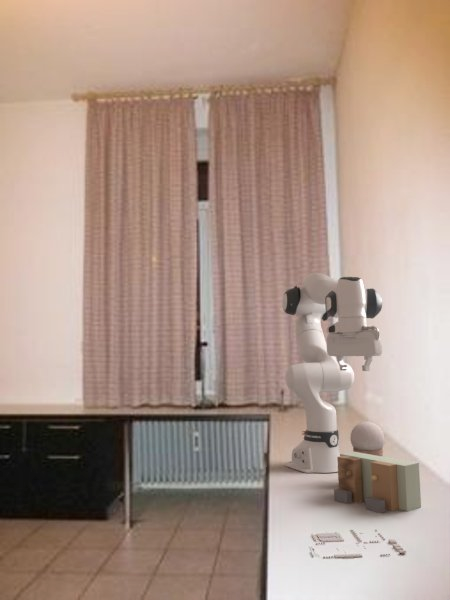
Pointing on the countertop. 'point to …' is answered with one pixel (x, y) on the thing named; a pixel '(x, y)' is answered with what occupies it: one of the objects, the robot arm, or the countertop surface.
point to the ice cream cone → (367, 439)
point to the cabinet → (385, 483)
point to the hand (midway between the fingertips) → (354, 370)
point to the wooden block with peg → (350, 476)
